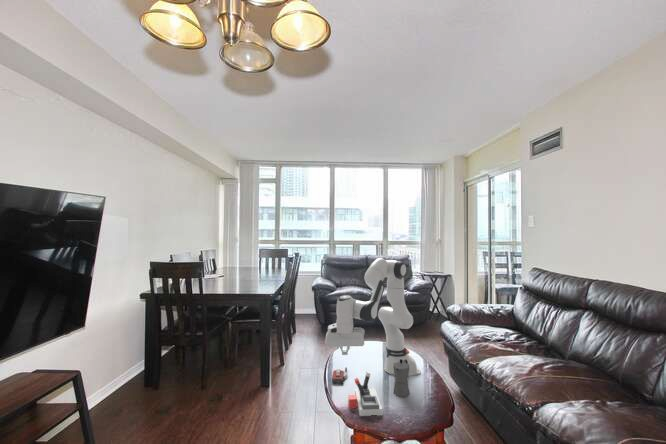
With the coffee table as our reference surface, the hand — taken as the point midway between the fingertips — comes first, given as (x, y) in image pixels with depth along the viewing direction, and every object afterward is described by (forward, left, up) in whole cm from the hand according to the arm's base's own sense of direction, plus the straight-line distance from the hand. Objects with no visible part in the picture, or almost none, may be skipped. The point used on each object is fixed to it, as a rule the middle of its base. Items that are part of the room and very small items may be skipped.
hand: (344, 354), depth 154 cm
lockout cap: (-4, +2, -25) cm, 26 cm away
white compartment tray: (-12, +1, -25) cm, 28 cm away
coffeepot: (-33, -10, -25) cm, 43 cm away
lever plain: (-11, -6, -22) cm, 25 cm away
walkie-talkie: (0, -29, -26) cm, 39 cm away
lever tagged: (-11, 0, -22) cm, 25 cm away
